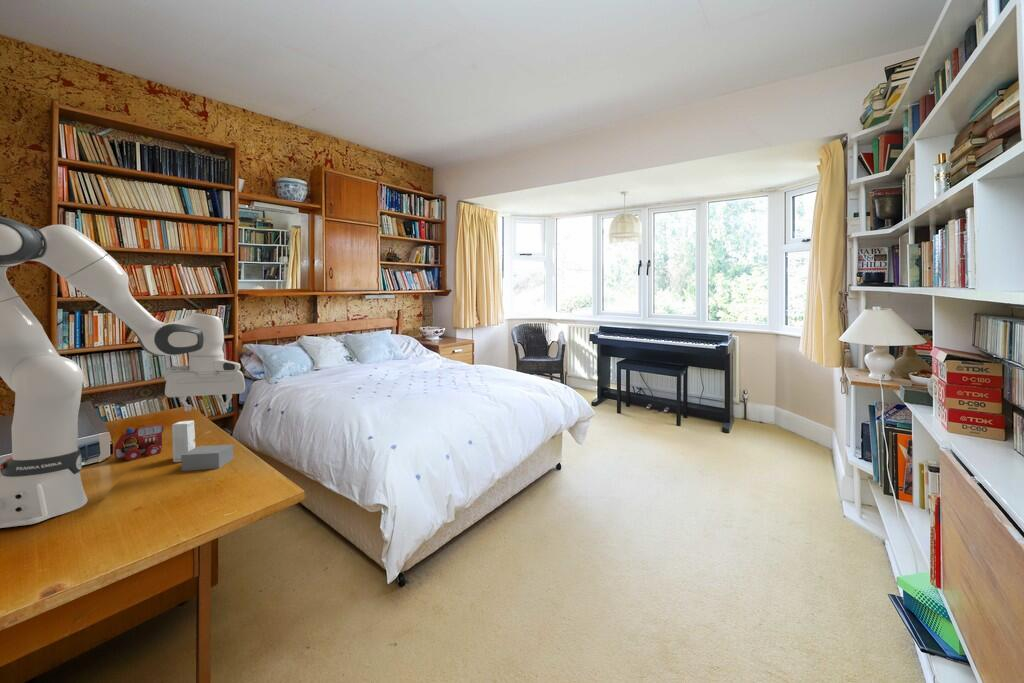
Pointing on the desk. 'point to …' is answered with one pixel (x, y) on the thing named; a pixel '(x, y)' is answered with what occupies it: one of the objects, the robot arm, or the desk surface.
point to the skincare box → (182, 438)
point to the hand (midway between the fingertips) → (207, 409)
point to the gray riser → (206, 457)
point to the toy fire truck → (139, 442)
